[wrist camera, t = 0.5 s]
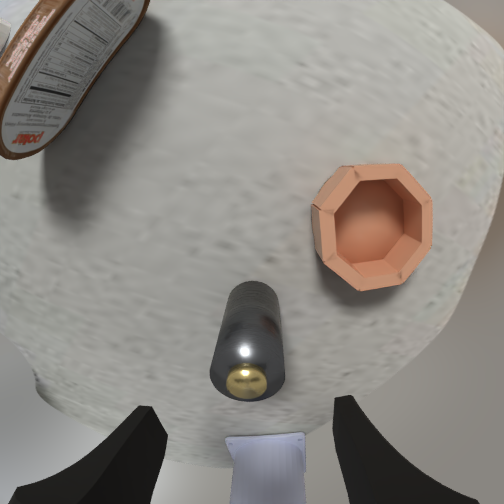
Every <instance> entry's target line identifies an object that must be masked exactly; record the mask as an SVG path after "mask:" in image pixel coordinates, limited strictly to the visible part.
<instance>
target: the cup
mask: <svg viewBox="0 0 504 504" xmlns="http://www.w3.org/2000/svg"><path fill="white" fill-rule="evenodd" d="M430 199H431V197H430V196H429V194H428V193H427V192H426V191H425V190H424V189H423V187H422V186H421V185H420V184H419V183H418V182H417V181H416V180H415V178H414V177H413V176H412V175H411V174H410V173H409V172H408V171H407V170H406V169H405V168H404V167H403V166H402V165H400V164H363V165H348V166H341V167H339V168H338V169H337V171H336V172H335V173H334V175H332V176H331V177H330V178H329V179H328V180H327V181H326V182H325V183H324V185H323V186H322V188H321V189H320V191H319V193H318V195H317V196H316V197H315V199H314V200H313V201H312V203H313V204H311V209H312V229H313V234H314V241H315V249H316V251H317V253H318V254H319V256H320V258H321V259H322V261H323V263H324V264H325V265H327V266H328V267H329V268H330V269H332V270H333V271H334V272H335V273H337V274H338V275H339V276H340V277H342V278H343V279H344V280H345V281H347V282H348V283H349V284H350V285H351V286H353V287H354V288H355V289H356V290H358V291H365V290H371V289H377V288H383V287H389V286H394V285H399V284H402V282H403V283H404V282H405V280H406V279H407V278H408V277H409V276H410V274H411V273H412V272H413V271H414V269H415V268H416V267H417V266H418V264H419V263H420V262H421V261H422V259H423V258H424V257H425V255H426V254H427V253H428V251H429V250H430V249H431V247H430V246H432V200H430Z"/></svg>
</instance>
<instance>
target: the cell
mask: <svg viewBox="0 0 504 504" xmlns="http://www.w3.org/2000/svg"><path fill="white" fill-rule="evenodd" d="M210 379H211V381H212V383H213V385H214V386H215V388H216V389H217V390H218V391H219V392H221V393H222V394H223V395H225V396H227V397H229V398H232V399H234V400H238V401H246V402H253V401H260V400H264V399H266V398H269V397H271V396H273V395H274V394H275V393H277V392H278V391H279V390H280V389H281V387H282V385H283V383H284V381H285V368H284V356H283V345H282V334H281V323H280V313H279V303H278V298H277V295H276V293H275V292H274V290H273V289H272V288H271V287H269V286H268V285H266V284H264V283H262V282H258V281H248V282H244V283H241V284H239V285H238V286H236V287H235V288H234V289H233V290H232V291H231V293H230V295H229V298H228V302H227V305H226V309H225V313H224V317H223V321H222V325H221V328H220V332H219V336H218V340H217V344H216V348H215V352H214V356H213V360H212V363H211V367H210Z"/></svg>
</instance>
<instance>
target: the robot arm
mask: <svg viewBox="0 0 504 504" xmlns="http://www.w3.org/2000/svg"><path fill="white" fill-rule="evenodd" d="M333 435H334V442H335V448H336V453H337V456H338V460H339V464H340V467H341V471H342V474H343V478H344V482H345V485H346V489H347V492H348V497H349V502H350V504H479V502H478V501H477V500H476V499H473V498H470V497H467V496H465V495H462V494H460V493H458V492H456V491H454V490H452V489H450V488H448V487H446V486H444V485H442V484H441V483H439V482H437V481H436V480H434V479H433V478H431V477H429V476H428V475H426V474H425V473H423V472H422V471H421V470H419V469H418V468H417V467H415V466H414V465H413V464H411V463H410V462H409V461H408V460H407V459H405V458H404V457H403V456H402V455H401V454H400V453H399V452H398V451H397V450H396V449H395V448H394V447H393V446H392V445H391V444H390V443H389V442H388V441H387V440H386V439H385V438H384V437H383V436H382V435H381V434H380V432H379V431H378V430H377V429H376V428H375V426H374V425H373V424H372V423H371V422H370V420H369V419H368V418H367V416H366V415H365V414H364V412H363V411H362V410H361V408H360V407H359V405H358V404H357V402H356V401H355V399H354V397H353V396H351V395H347V396H342V397H336V398H335V401H334V415H333ZM167 438H168V434H167V433H166V431H165V429H164V428H163V426H162V424H161V422H160V421H159V419H158V417H157V415H156V413H155V411H154V410H153V408H152V406H140V405H139V406H138V407H137V408H136V409H135V410H134V411H133V412H132V413H131V414H130V415H129V416H128V417H127V418H126V419H125V420H124V421H123V422H122V423H121V424H120V425H119V426H118V427H117V428H116V429H115V430H114V431H113V432H112V433H111V434H110V435H109V436H108V437H107V438H106V439H105V440H104V441H103V442H102V443H100V444H99V445H98V446H97V447H96V448H95V449H94V450H92V451H91V452H90V453H89V454H87V455H86V456H85V457H84V458H82V459H81V460H79V461H78V462H76V463H75V464H73V465H71V466H70V467H68V468H66V469H64V470H63V471H61V472H59V473H57V474H55V475H53V476H51V477H48V478H46V479H43V480H41V481H38V482H35V483H32V484H28V485H24V486H20V487H17V489H16V490H15V492H14V494H13V496H12V498H11V500H10V501H9V503H8V504H150V502H151V498H152V494H153V490H154V488H155V484H156V481H157V478H158V475H159V472H160V469H161V466H162V462H163V459H164V456H165V451H166V445H167ZM225 442H226V445H227V447H228V449H229V452H230V454H231V457H232V459H233V461H234V467H233V477H232V486H231V495H230V504H306V495H305V483H304V473H305V472H306V454H305V453H306V452H305V433H303V432H296V433H287V434H276V435H262V436H238V437H226V438H225Z"/></svg>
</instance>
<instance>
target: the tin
mask: <svg viewBox="0 0 504 504" xmlns="http://www.w3.org/2000/svg"><path fill="white" fill-rule="evenodd" d="M149 2H150V0H40V1H39V2H38V3H37V4H36V6H35V7H34V8H33V10H32V11H31V12H30V14H29V15H28V16H27V18H26V19H25V21H24V22H23V24H22V25H21V26H20V28H19V29H18V31H17V32H16V34H15V36H14V37H13V39H12V40H11V42H10V43H9V45H8V47H7V48H6V50H5V52H4V53H3V55H2V57H1V59H0V155H1V156H2V157H4V158H5V159H9V160H18V159H23V158H26V157H29V156H32V155H34V154H36V153H38V152H40V151H41V150H43V149H44V148H45V147H47V146H48V145H49V144H50V143H51V142H52V141H53V140H54V139H55V138H56V137H57V136H58V135H59V134H60V133H61V132H62V131H63V129H64V128H65V127H66V126H67V124H68V123H69V122H70V120H71V119H72V117H73V116H74V114H75V112H76V111H77V109H78V107H79V106H80V104H81V102H82V101H83V99H84V98H85V96H86V95H87V93H88V92H89V90H90V88H91V87H92V85H93V84H94V83H95V81H96V80H97V78H98V77H99V75H100V74H101V73H102V71H103V70H104V68H105V67H106V66H107V64H108V63H109V62H110V60H111V59H112V58H113V57H114V55H115V54H116V53H117V51H118V50H119V49H120V48H121V47H122V45H123V44H124V43H125V42H126V40H127V39H128V38H129V37H130V36H131V34H132V33H133V32H134V31H135V29H136V28H137V26H138V25H139V23H140V22H141V20H142V18H143V16H144V15H145V13H146V11H147V8H148V6H149Z"/></svg>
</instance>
